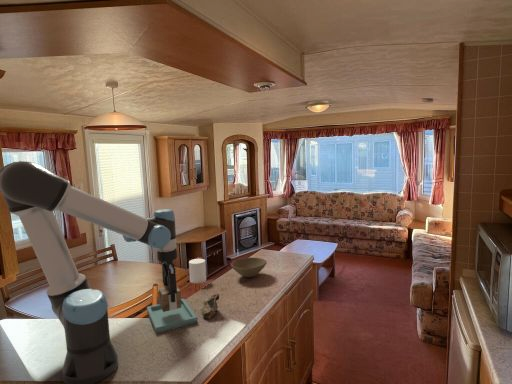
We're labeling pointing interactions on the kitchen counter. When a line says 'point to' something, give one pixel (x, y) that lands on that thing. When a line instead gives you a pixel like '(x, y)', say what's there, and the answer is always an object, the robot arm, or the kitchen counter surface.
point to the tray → (171, 317)
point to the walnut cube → (165, 298)
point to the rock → (210, 306)
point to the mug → (197, 271)
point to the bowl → (248, 266)
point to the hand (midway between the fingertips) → (171, 305)
